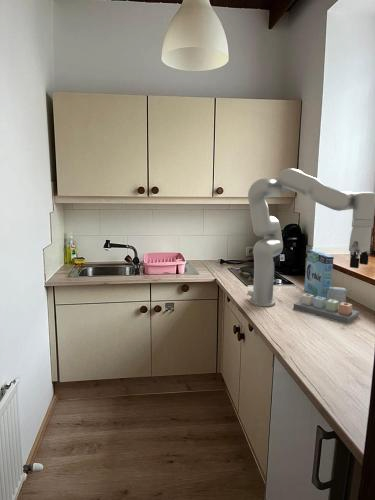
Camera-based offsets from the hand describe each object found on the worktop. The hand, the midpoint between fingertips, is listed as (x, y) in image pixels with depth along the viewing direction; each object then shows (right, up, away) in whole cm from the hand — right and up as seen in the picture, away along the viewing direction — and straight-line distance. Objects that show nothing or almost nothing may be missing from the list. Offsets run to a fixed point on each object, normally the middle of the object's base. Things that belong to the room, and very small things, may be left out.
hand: (358, 265), depth 138 cm
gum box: (-1, -18, +43) cm, 47 cm away
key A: (-4, -20, +15) cm, 26 cm away
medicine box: (+3, -21, +28) cm, 35 cm away
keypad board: (-7, -22, +18) cm, 29 cm away
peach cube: (0, -21, +11) cm, 24 cm away
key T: (-9, -20, +19) cm, 29 cm away
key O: (-13, -19, +23) cm, 33 cm away
